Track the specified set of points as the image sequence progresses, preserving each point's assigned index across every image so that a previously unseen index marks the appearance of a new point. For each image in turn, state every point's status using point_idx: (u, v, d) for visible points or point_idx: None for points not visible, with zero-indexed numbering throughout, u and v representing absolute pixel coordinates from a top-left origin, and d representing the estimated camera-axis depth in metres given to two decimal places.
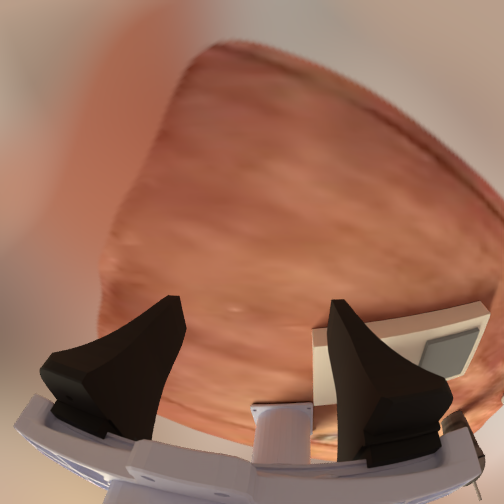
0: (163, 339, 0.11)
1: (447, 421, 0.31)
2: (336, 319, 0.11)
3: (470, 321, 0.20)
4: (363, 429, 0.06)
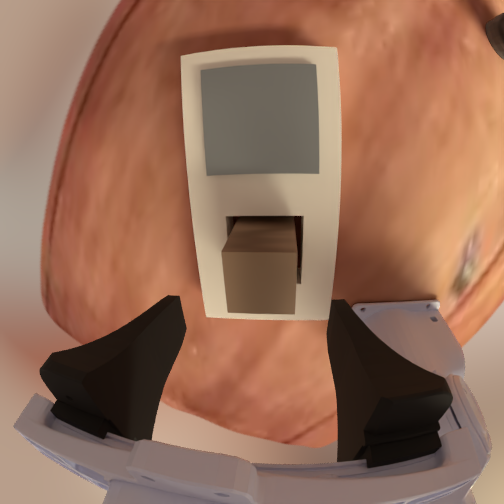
0: (163, 339, 0.11)
1: (502, 51, 0.10)
2: (336, 319, 0.11)
3: (186, 96, 0.15)
4: (363, 429, 0.06)
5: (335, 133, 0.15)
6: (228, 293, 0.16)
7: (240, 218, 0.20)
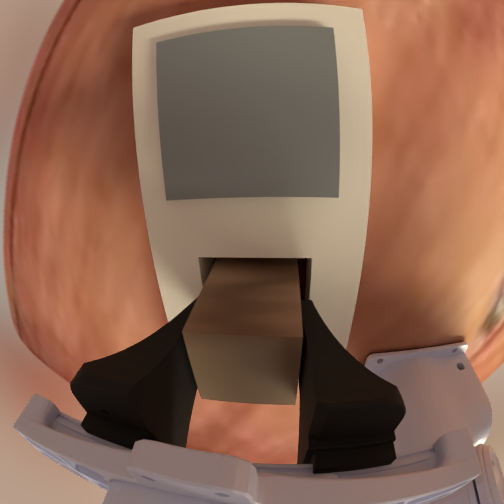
0: None
1: None
2: None
3: (138, 82, 0.09)
4: (308, 433, 0.06)
5: (363, 134, 0.10)
6: (199, 379, 0.10)
7: (221, 257, 0.14)
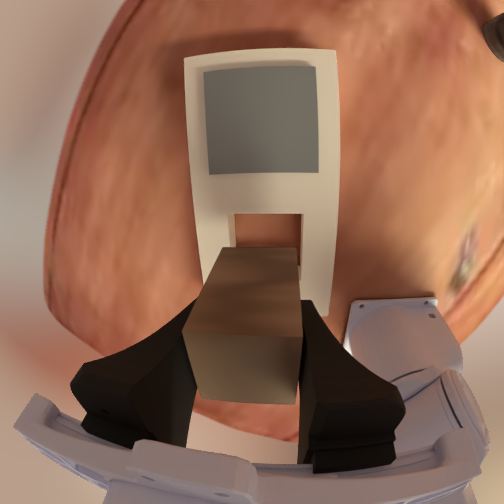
0: None
1: (499, 52, 0.11)
2: None
3: (189, 97, 0.16)
4: (308, 433, 0.06)
5: (334, 133, 0.16)
6: (199, 379, 0.10)
7: (221, 257, 0.14)
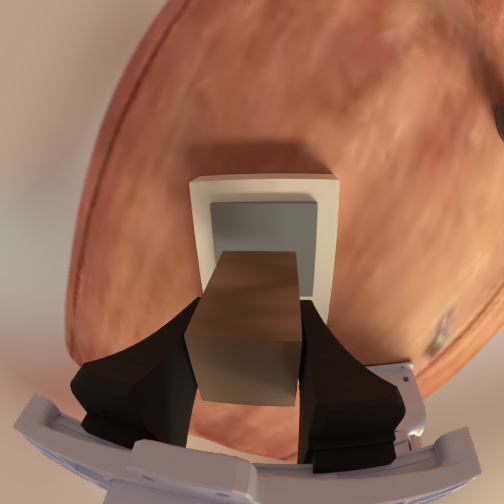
0: None
1: None
2: None
3: (197, 224, 0.19)
4: (308, 433, 0.06)
5: (329, 262, 0.19)
6: (200, 382, 0.10)
7: (222, 261, 0.14)
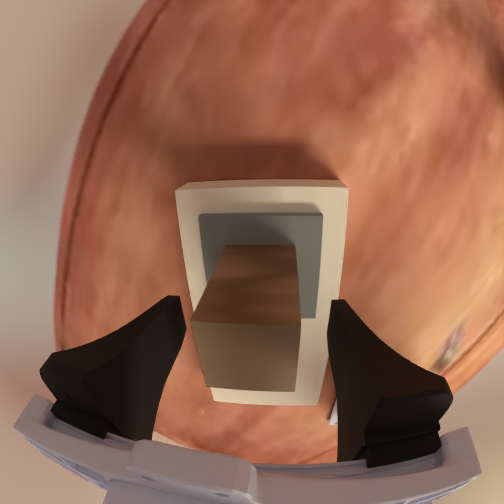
0: (163, 339, 0.11)
1: None
2: (336, 319, 0.11)
3: (185, 238, 0.17)
4: (363, 429, 0.06)
5: (334, 280, 0.17)
6: (205, 367, 0.11)
7: (225, 254, 0.15)
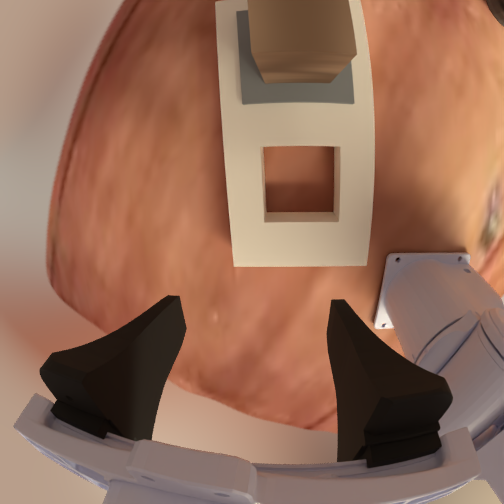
0: (163, 339, 0.11)
1: (503, 19, 0.08)
2: (336, 319, 0.11)
3: (220, 34, 0.14)
4: (363, 429, 0.06)
5: (365, 70, 0.14)
6: (253, 23, 0.08)
7: None
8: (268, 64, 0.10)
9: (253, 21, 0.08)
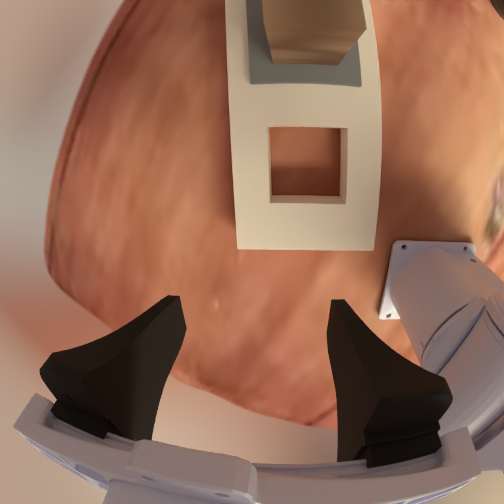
0: (163, 339, 0.11)
1: None
2: (336, 319, 0.11)
3: (229, 17, 0.13)
4: (363, 429, 0.06)
5: (372, 55, 0.13)
6: None
7: None
8: (278, 39, 0.09)
9: None
